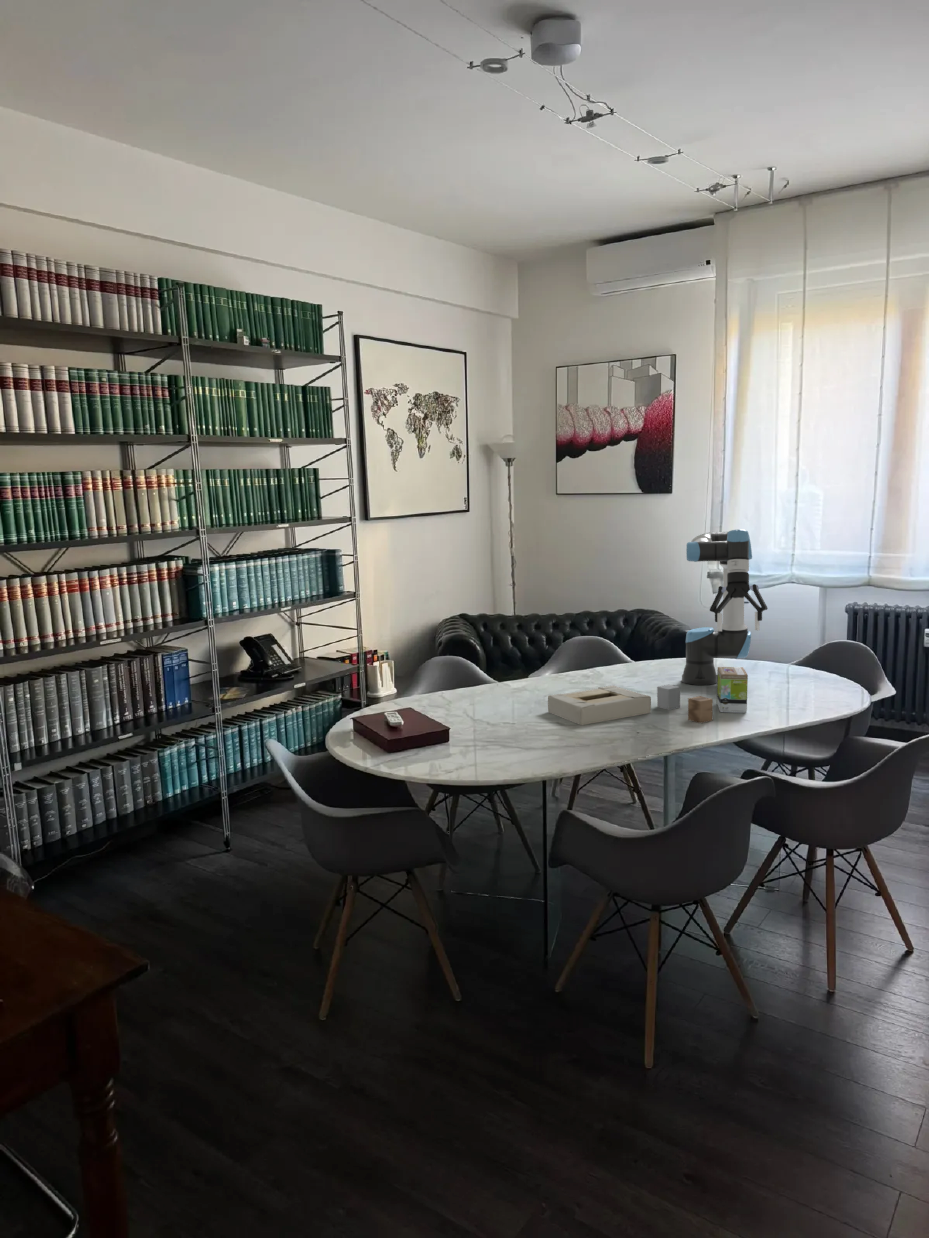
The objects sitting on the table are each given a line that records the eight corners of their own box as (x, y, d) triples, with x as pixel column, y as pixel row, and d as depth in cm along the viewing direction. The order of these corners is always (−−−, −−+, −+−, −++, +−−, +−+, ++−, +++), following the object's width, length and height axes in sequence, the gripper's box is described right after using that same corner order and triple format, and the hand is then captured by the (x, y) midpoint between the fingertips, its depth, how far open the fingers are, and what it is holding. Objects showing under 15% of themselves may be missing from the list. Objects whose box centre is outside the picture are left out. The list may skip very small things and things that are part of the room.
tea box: (747, 713, 317) (748, 674, 315) (719, 712, 319) (719, 673, 317) (743, 703, 332) (743, 666, 330) (716, 703, 334) (716, 665, 332)
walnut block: (688, 719, 311) (688, 698, 310) (699, 717, 314) (700, 695, 313) (700, 723, 306) (700, 701, 305) (712, 720, 309) (712, 698, 308)
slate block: (657, 706, 331) (657, 686, 330) (668, 704, 335) (668, 684, 333) (668, 709, 326) (668, 689, 325) (679, 707, 329) (679, 687, 328)
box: (581, 727, 309) (651, 713, 323) (580, 706, 308) (651, 693, 322) (546, 714, 329) (614, 702, 343) (546, 695, 328) (614, 683, 342)
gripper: (700, 573, 315) (700, 630, 313) (769, 568, 300) (770, 628, 298) (708, 575, 321) (708, 632, 319) (776, 571, 306) (776, 630, 304)
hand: (738, 630), depth 309 cm, fingers open, 13 cm apart
